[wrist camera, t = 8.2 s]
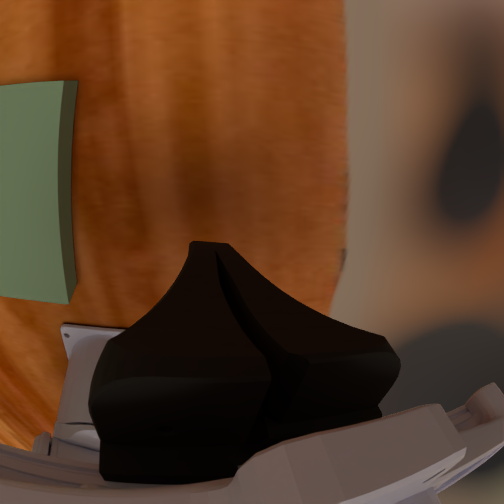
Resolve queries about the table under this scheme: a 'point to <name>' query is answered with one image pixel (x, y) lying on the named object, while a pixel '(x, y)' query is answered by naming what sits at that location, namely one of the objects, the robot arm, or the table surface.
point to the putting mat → (37, 191)
